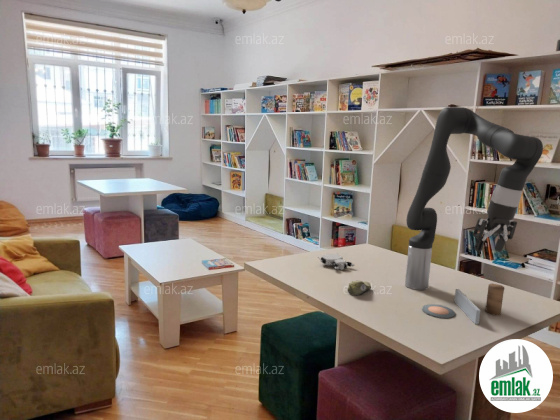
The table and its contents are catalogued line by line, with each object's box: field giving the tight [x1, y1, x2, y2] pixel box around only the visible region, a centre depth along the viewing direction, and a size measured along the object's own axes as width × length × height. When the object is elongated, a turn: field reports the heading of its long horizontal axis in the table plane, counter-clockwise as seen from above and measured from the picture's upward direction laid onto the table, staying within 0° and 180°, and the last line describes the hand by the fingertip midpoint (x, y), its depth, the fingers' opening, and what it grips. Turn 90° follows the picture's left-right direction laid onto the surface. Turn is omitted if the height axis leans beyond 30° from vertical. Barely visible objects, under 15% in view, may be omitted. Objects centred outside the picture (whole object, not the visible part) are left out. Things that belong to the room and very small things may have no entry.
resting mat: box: [421, 303, 456, 319], centre depth 152 cm, size 11×11×1 cm
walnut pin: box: [484, 283, 505, 316], centre depth 152 cm, size 5×5×10 cm
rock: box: [347, 280, 372, 297], centre depth 169 cm, size 11×6×10 cm
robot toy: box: [316, 253, 355, 271], centre depth 201 cm, size 12×4×15 cm
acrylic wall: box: [453, 288, 481, 325], centre depth 152 cm, size 20×1×5 cm, turn 177°
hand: (487, 250), depth 133 cm, fingers open, 8 cm apart
